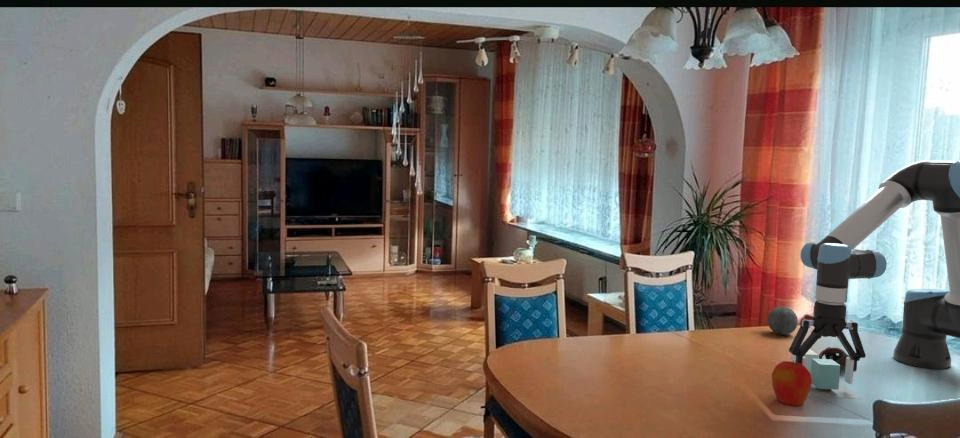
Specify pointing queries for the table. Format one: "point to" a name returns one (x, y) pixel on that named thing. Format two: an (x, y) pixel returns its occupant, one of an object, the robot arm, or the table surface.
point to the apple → (791, 383)
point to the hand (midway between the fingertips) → (824, 381)
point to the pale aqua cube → (825, 373)
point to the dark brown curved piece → (835, 356)
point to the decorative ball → (782, 320)
